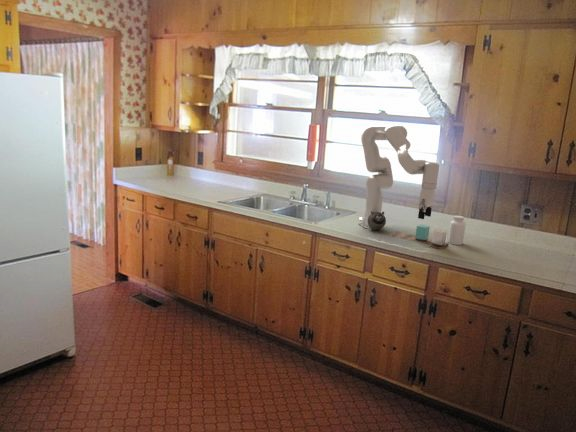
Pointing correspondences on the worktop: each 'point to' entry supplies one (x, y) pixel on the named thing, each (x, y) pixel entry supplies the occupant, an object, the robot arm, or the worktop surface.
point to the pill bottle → (456, 230)
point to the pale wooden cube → (438, 238)
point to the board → (412, 238)
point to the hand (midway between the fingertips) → (424, 217)
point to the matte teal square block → (422, 232)
